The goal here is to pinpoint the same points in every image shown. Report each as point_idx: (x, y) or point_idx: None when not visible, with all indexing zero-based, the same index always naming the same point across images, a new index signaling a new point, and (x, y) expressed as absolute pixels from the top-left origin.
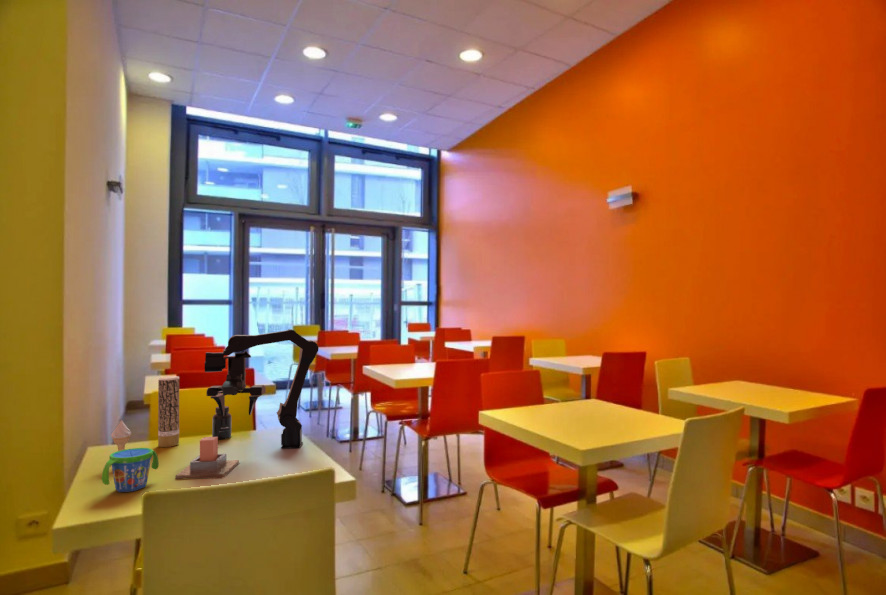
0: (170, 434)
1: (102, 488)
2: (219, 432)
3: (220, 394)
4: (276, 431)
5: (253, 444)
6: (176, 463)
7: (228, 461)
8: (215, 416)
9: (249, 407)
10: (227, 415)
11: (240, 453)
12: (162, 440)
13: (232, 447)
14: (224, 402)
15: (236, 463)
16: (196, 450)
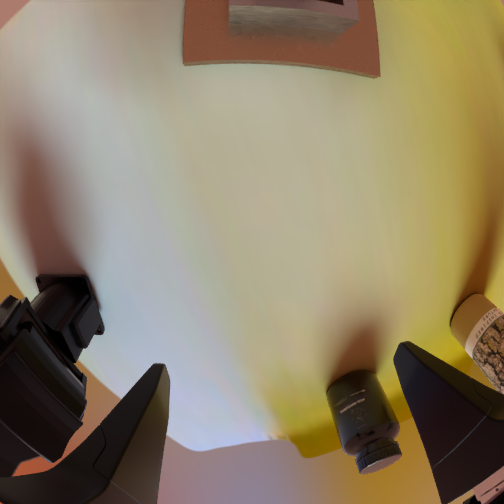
0: (486, 316)
1: None
2: (364, 387)
3: (499, 479)
4: (206, 433)
5: (223, 336)
6: (434, 111)
7: (227, 44)
8: (394, 428)
9: (134, 417)
10: (356, 444)
11: (230, 215)
12: (489, 301)
13: (295, 302)
14: (426, 449)
15: (184, 32)
16: (410, 267)
